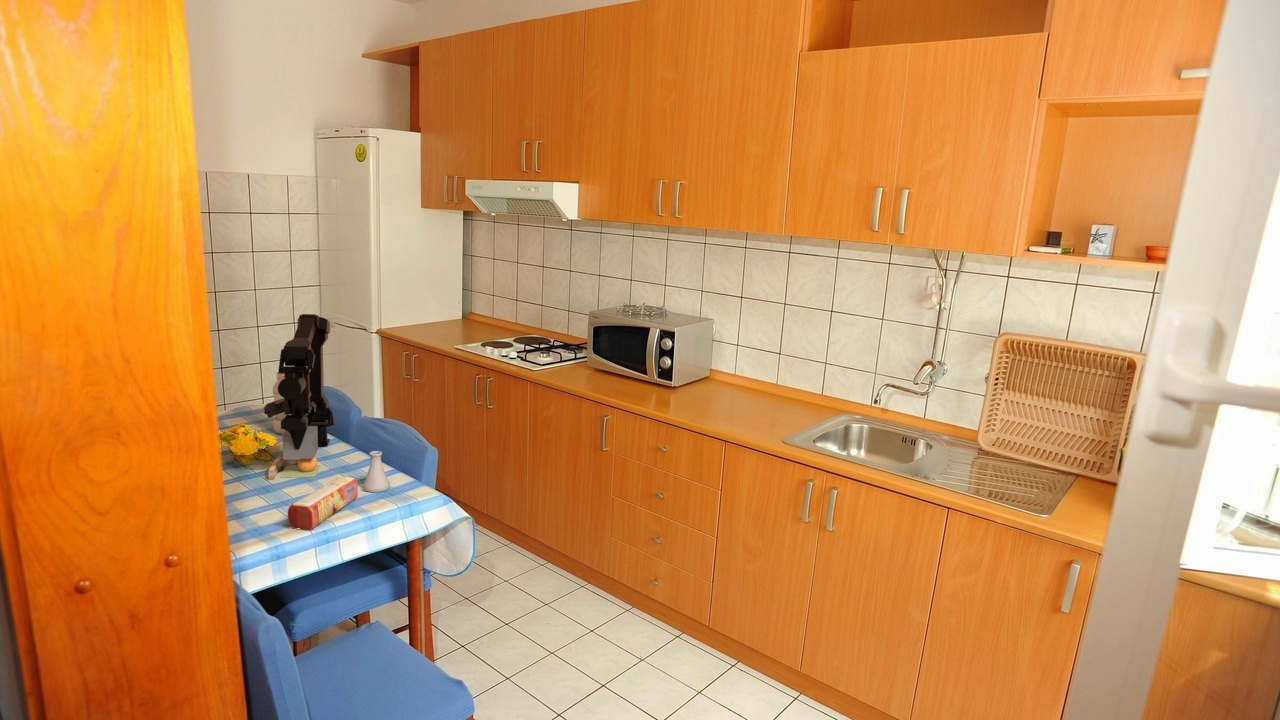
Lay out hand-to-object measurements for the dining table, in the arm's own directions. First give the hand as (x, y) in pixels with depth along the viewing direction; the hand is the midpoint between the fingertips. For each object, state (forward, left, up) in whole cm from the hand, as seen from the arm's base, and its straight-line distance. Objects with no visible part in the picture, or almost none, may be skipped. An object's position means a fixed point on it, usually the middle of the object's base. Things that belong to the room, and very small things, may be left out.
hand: (300, 444), depth 204 cm
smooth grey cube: (0, 0, -3) cm, 3 cm away
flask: (+15, +21, -8) cm, 27 cm away
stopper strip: (0, -7, -8) cm, 10 cm away
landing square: (0, 0, -8) cm, 8 cm away
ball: (0, +2, -5) cm, 6 cm away
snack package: (+31, +10, -9) cm, 33 cm away
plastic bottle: (-38, -11, -8) cm, 40 cm away
